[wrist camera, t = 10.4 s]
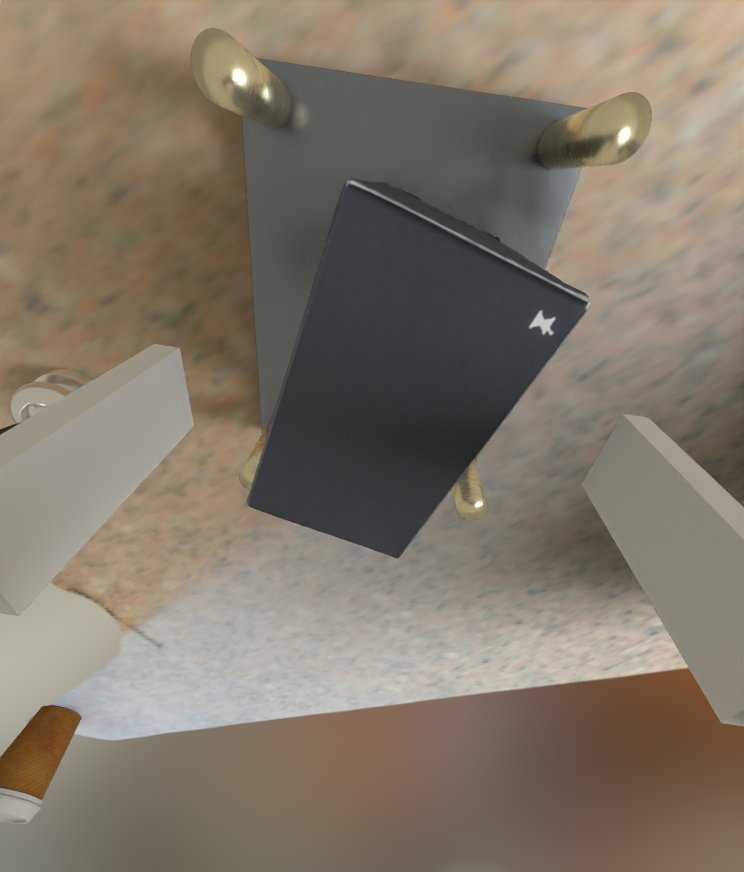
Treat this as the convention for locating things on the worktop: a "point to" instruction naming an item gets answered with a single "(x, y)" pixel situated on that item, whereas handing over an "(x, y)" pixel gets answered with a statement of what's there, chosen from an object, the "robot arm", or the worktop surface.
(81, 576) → the worktop surface
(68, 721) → the disposable coffee cup
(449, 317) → the small box
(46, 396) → the metal grooved wheel
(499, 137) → the chassis
